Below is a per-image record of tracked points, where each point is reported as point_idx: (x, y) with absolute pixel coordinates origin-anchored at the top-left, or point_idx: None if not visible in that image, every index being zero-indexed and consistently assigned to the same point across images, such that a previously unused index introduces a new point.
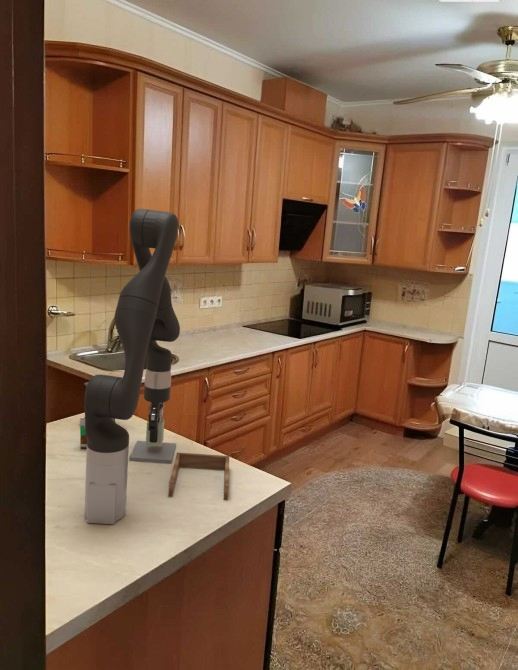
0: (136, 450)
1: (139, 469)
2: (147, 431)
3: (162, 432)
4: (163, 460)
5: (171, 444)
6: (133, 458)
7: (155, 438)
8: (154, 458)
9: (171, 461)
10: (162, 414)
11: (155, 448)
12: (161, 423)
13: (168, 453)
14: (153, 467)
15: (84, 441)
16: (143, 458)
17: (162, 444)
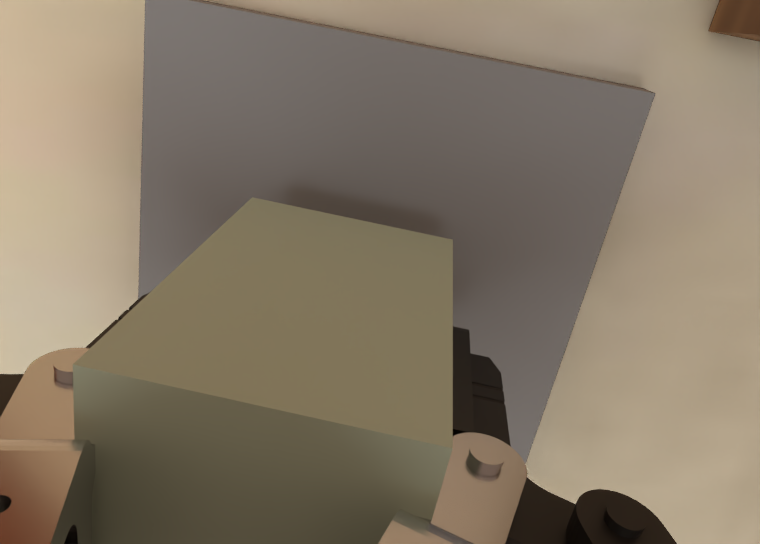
0: None
1: (711, 406)
2: None
3: (375, 303)
4: (618, 185)
5: (189, 58)
6: (525, 457)
7: (500, 387)
8: (574, 283)
9: (630, 86)
10: (51, 505)
11: None
12: (419, 465)
13: (454, 116)
14: (698, 284)
15: None
16: (551, 382)
17: (200, 169)
